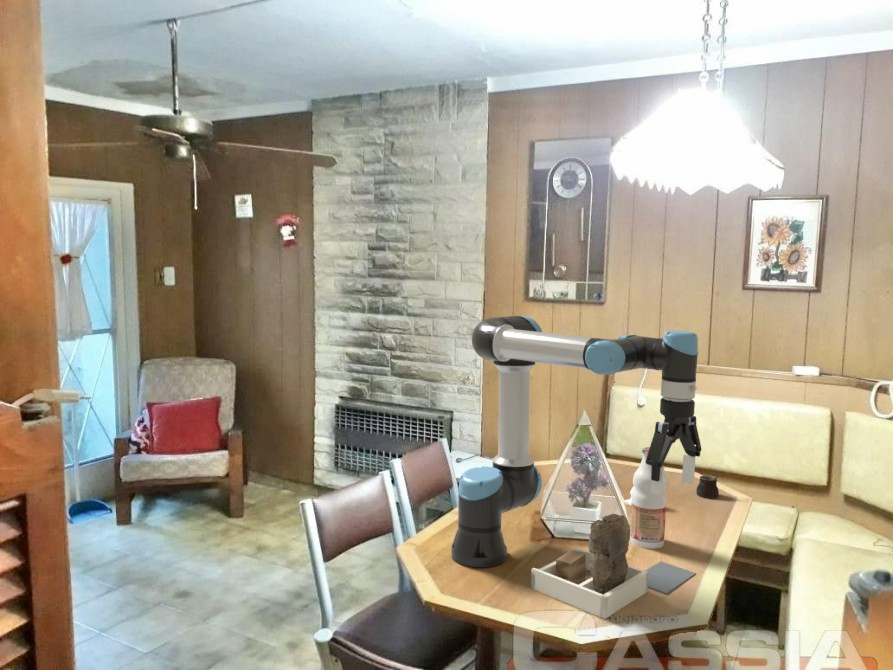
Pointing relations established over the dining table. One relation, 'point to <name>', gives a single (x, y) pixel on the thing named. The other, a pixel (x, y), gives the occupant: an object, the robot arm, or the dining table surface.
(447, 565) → the dining table surface
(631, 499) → the white creature statuette
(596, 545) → the brown rock
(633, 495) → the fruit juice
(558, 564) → the offcut block upper
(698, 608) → the dining table surface
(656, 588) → the mat
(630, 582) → the tray
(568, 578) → the offcut block lower
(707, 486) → the mate gourd
